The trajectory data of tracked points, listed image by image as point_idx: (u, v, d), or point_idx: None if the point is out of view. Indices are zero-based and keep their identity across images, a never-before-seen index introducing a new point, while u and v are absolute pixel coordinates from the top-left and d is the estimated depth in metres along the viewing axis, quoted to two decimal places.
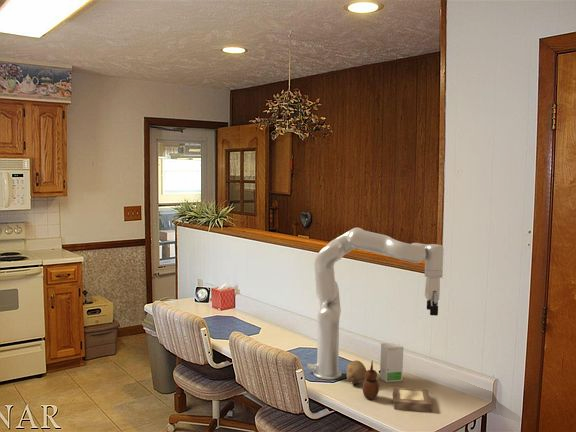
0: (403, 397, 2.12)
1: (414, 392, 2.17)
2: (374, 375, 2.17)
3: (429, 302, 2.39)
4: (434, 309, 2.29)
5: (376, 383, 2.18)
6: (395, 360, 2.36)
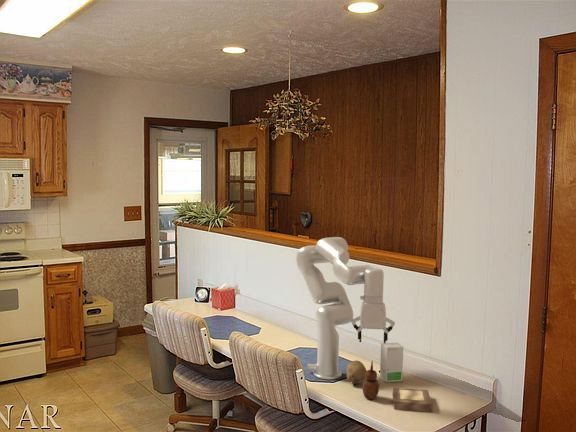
0: (403, 397, 2.12)
1: (414, 392, 2.17)
2: (374, 375, 2.17)
3: None
4: None
5: (376, 383, 2.18)
6: (395, 360, 2.36)
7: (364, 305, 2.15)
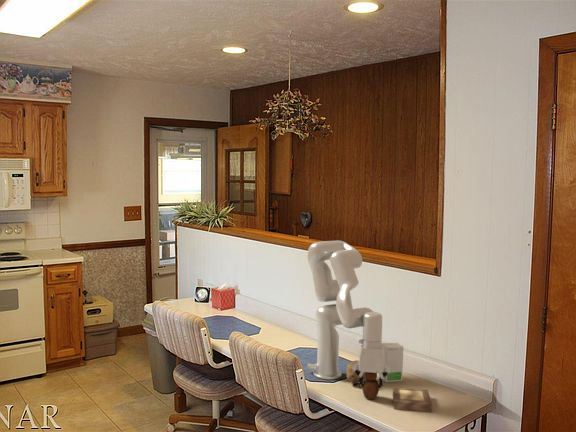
0: (403, 397, 2.12)
1: (414, 392, 2.17)
2: (374, 375, 2.17)
3: (362, 378, 2.19)
4: (382, 380, 2.18)
5: (376, 383, 2.18)
6: (395, 360, 2.36)
7: (363, 349, 2.16)
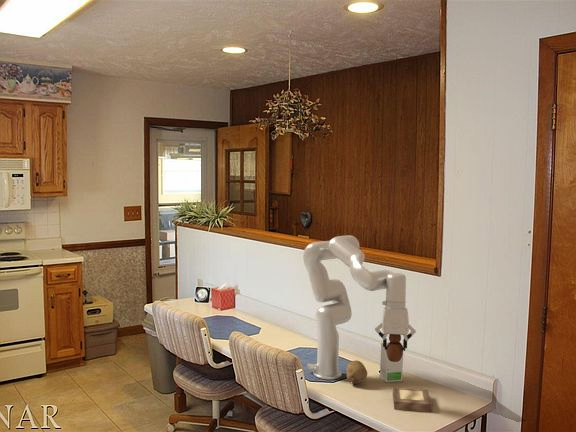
0: (403, 397, 2.12)
1: (414, 392, 2.17)
2: (398, 337, 2.13)
3: (386, 341, 2.15)
4: None
5: (400, 345, 2.14)
6: None
7: (386, 310, 2.12)
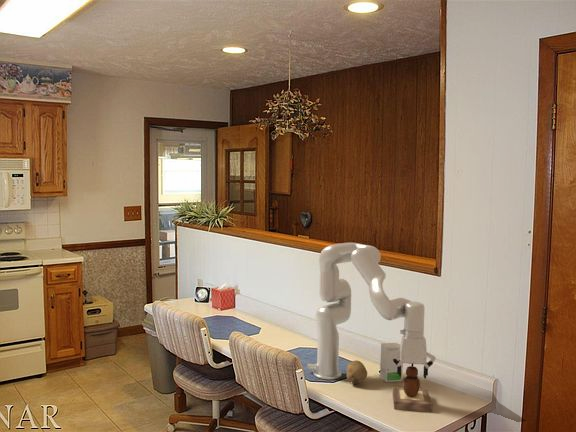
0: (403, 397, 2.12)
1: None
2: (415, 371, 2.12)
3: None
4: (427, 370, 2.13)
5: (417, 380, 2.13)
6: None
7: (404, 340, 2.11)
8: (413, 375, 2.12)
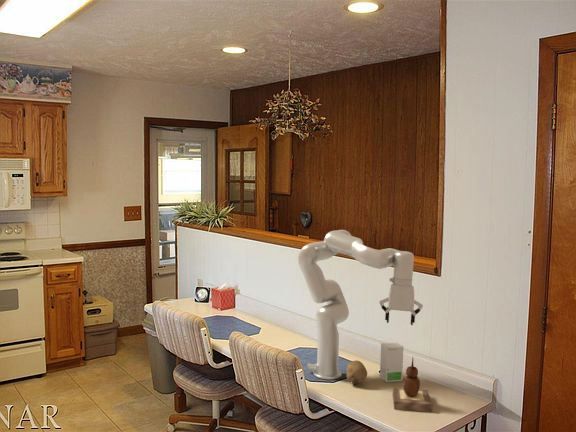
0: (403, 397, 2.12)
1: None
2: (415, 372, 2.12)
3: None
4: (414, 317, 2.21)
5: (417, 380, 2.13)
6: (395, 360, 2.36)
7: (393, 287, 2.18)
8: (413, 375, 2.12)
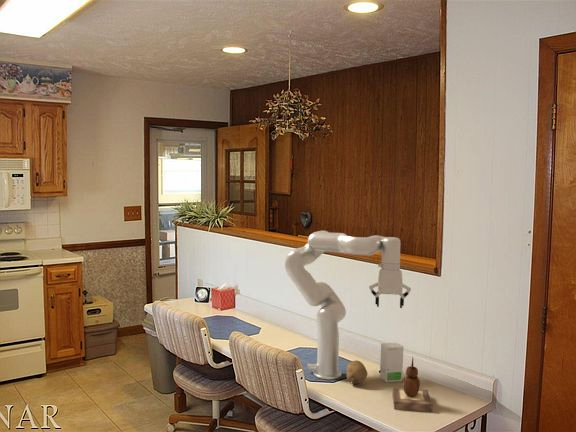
0: (403, 397, 2.12)
1: None
2: (415, 372, 2.12)
3: (378, 299, 2.29)
4: (403, 301, 2.29)
5: (417, 380, 2.13)
6: (395, 360, 2.36)
7: (382, 272, 2.27)
8: (413, 375, 2.12)
